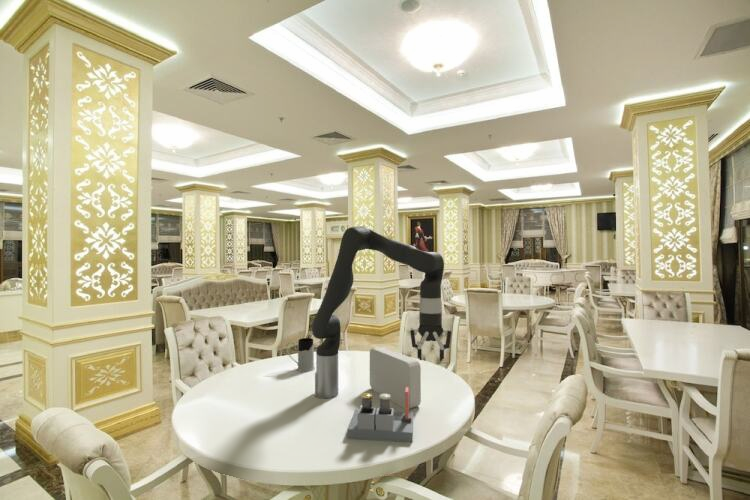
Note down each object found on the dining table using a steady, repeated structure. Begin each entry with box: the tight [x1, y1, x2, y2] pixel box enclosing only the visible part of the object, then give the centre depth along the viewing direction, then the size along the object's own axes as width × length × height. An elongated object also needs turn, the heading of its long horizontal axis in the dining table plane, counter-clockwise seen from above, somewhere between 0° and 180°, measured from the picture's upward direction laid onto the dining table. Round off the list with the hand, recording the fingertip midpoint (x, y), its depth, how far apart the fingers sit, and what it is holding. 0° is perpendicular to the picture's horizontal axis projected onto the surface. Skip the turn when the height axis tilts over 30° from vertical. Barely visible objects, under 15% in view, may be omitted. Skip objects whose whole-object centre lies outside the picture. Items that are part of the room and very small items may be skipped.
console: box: [346, 406, 414, 443], centre depth 129 cm, size 21×15×8 cm
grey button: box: [379, 394, 391, 413], centre depth 124 cm, size 4×4×5 cm
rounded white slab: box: [369, 346, 422, 409], centre depth 158 cm, size 29×8×18 cm, turn 33°
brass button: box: [361, 392, 373, 413], centre depth 125 cm, size 4×4×5 cm
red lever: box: [402, 387, 412, 421], centre depth 129 cm, size 3×4×10 cm
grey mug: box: [286, 337, 315, 373], centre depth 195 cm, size 9×14×15 cm, turn 89°
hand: (430, 359), depth 129 cm, fingers open, 6 cm apart
